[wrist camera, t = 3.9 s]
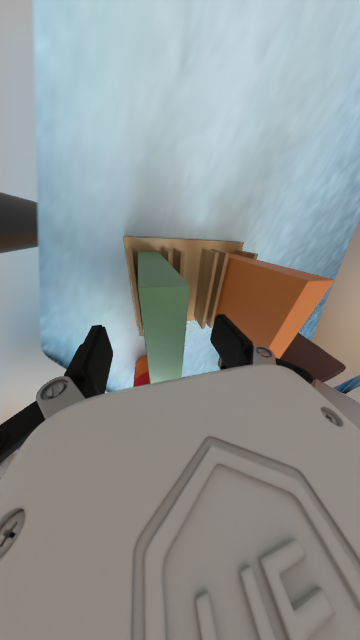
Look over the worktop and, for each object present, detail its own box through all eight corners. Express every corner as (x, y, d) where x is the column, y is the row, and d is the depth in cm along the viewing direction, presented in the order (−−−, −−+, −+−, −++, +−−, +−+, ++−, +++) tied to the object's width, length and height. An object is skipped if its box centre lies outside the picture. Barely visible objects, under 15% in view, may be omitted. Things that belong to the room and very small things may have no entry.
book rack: (137, 322, 23) (137, 342, 19) (123, 236, 16) (119, 238, 12) (220, 314, 27) (234, 329, 23) (239, 241, 20) (264, 244, 16)
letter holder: (223, 339, 32) (269, 398, 21) (288, 325, 36) (357, 369, 25) (217, 365, 38) (251, 422, 26) (274, 350, 42) (325, 395, 30)
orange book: (205, 312, 25) (254, 372, 14) (216, 253, 19) (309, 280, 9) (218, 311, 25) (273, 367, 15) (232, 253, 20) (335, 279, 9)
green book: (145, 318, 22) (152, 396, 12) (137, 251, 17) (138, 287, 6) (160, 316, 23) (180, 389, 12) (158, 251, 17) (190, 285, 7)
